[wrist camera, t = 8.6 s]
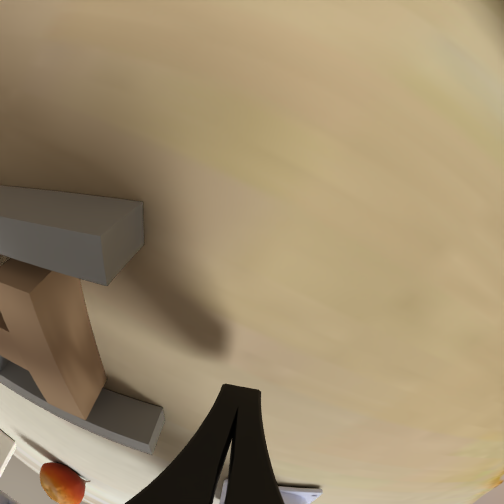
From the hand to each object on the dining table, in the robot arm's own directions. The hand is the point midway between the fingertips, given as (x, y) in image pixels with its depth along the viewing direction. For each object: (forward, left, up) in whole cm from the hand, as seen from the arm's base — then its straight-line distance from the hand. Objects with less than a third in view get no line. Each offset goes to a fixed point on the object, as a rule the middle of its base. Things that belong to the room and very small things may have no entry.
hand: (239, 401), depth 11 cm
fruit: (-38, +24, -2) cm, 45 cm away
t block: (0, +10, -2) cm, 11 cm away
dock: (0, +10, -2) cm, 10 cm away
